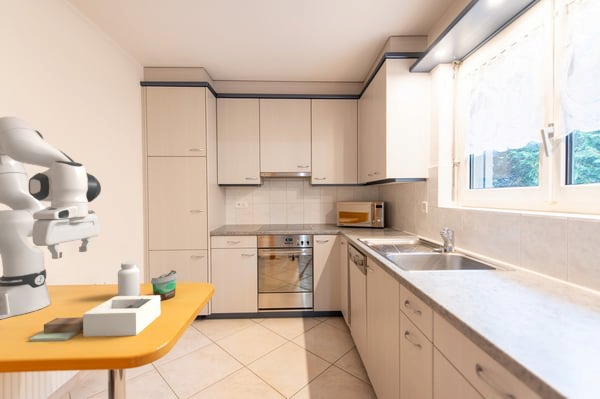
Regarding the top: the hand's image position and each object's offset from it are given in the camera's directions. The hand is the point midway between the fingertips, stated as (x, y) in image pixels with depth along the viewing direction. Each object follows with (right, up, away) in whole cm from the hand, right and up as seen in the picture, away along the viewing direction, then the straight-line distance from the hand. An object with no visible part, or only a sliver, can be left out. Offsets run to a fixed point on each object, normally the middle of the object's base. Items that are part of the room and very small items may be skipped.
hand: (71, 254), depth 81 cm
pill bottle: (-1, -25, +29) cm, 38 cm away
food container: (+17, -25, +27) cm, 40 cm away
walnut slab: (-1, -24, 0) cm, 24 cm away
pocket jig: (+14, -24, +4) cm, 29 cm away
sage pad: (-3, -25, 0) cm, 25 cm away
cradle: (+14, -21, +4) cm, 26 cm away
